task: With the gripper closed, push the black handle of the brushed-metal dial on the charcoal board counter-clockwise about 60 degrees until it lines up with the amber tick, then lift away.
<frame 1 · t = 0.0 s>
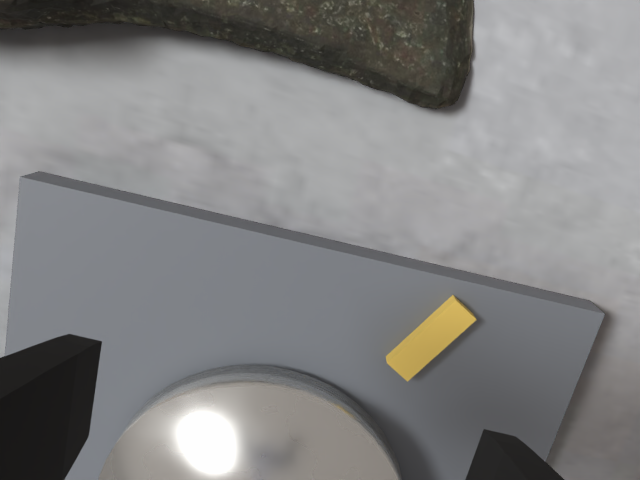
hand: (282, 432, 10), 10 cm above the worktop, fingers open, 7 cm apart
board: (261, 470, 22), on the worktop
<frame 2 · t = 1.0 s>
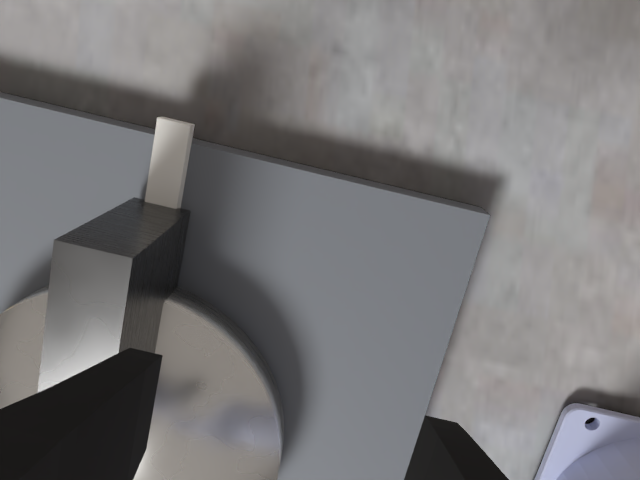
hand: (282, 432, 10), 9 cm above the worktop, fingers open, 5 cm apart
board: (142, 399, 21), on the worktop
dial: (102, 435, 17), point 4 cm above the worktop, hinge at 0.0°, touching board
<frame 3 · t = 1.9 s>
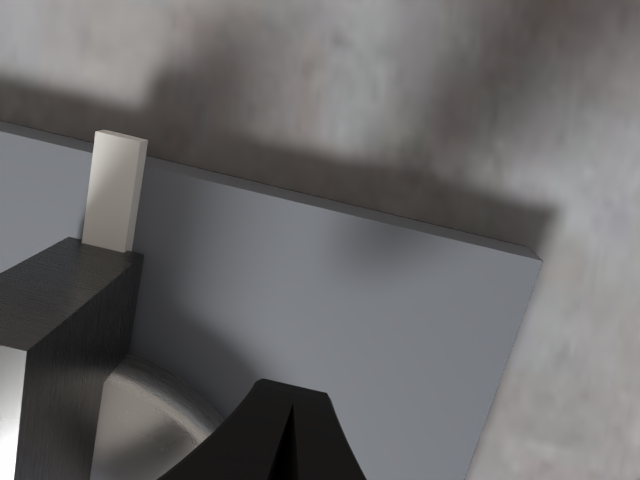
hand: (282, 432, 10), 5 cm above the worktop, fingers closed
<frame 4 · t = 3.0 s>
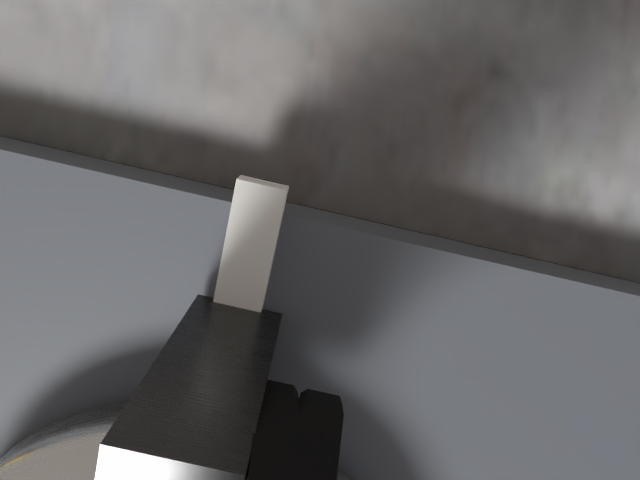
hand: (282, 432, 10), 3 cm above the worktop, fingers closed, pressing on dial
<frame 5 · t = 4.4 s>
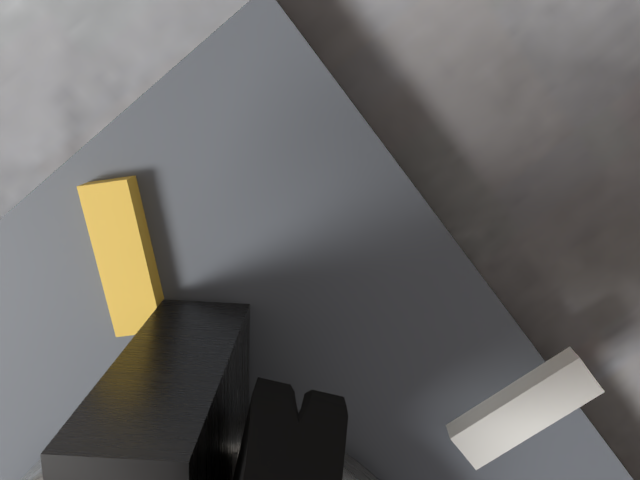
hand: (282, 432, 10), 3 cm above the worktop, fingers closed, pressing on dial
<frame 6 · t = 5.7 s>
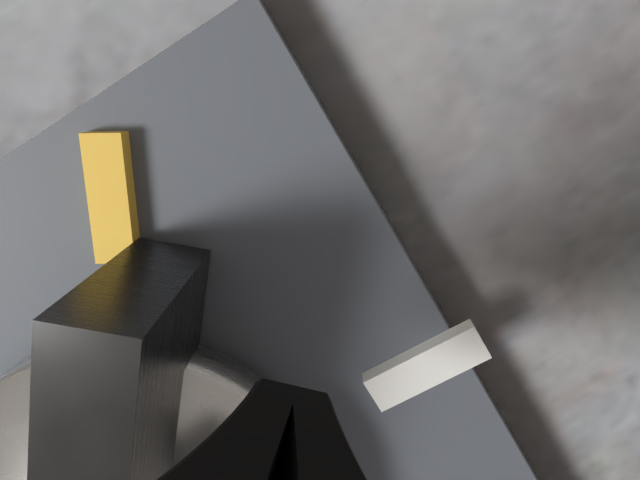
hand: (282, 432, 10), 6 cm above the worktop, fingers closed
board: (163, 471, 17), on the worktop
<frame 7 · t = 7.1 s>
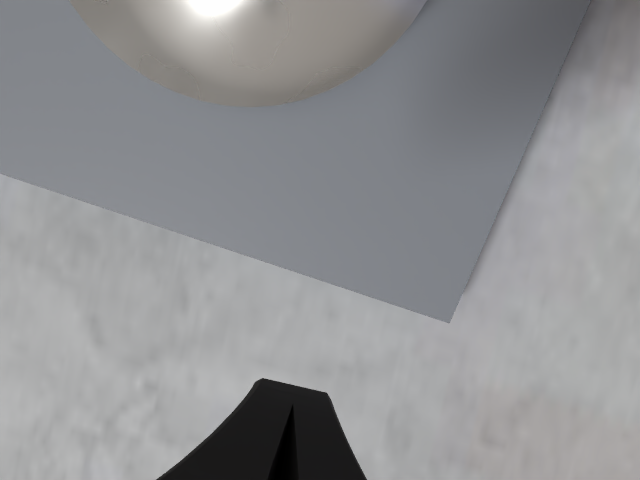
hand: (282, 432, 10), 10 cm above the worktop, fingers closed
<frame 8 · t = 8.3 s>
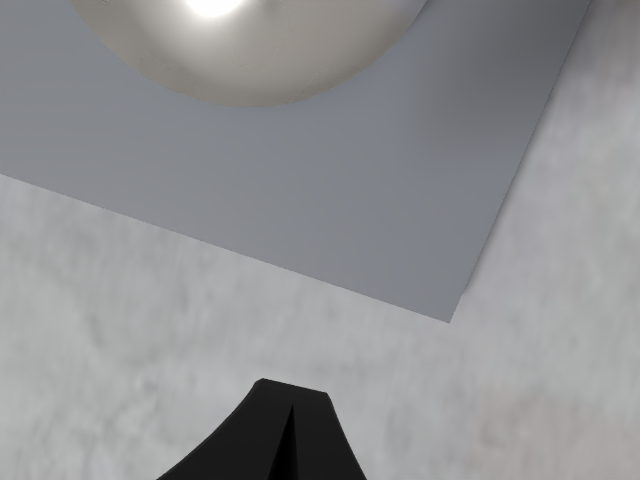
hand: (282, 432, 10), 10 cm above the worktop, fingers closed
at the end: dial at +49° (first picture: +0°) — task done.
